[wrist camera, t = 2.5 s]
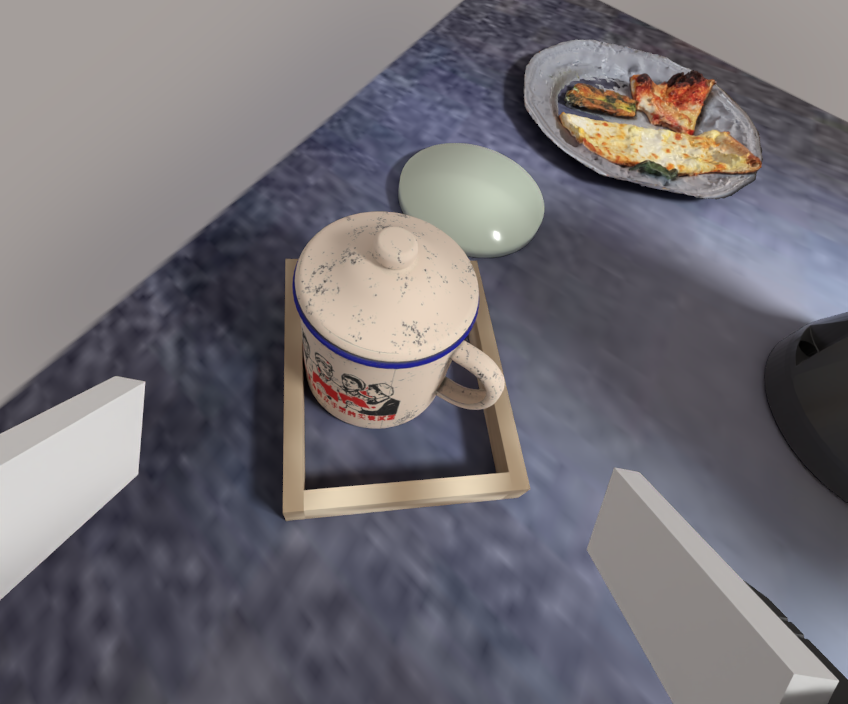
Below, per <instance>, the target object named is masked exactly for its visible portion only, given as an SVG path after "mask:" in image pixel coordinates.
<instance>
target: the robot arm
mask: <svg viewBox="0 0 848 704" xmlns="http://www.w3.org/2000/svg"><path fill="white" fill-rule="evenodd" d="M765 387H766V393H767V398H768V402H769V405H770V408H771V411H772V414H773V416H774V418H775V421H776V423H777V425H778V427H779V429H780V430H781V432H782V434H783V436H784V437H785V439H786V441H787V442H788V444H789V445H790V447H791V448H792V450H793V451H794V452H795V453H796V455H797V456H798V457H799V459H800V460H801V461H802V462H803V463H804V465H805V466H806V467H807V468H808V469H809V470H810V471H811V472H812V473H813V474H814V475H815V476H816V477H817V478H818V479H819V480H820V481H821V482H822V483H823V484H824V485H825V486H826V487H828V488H829V489H830V490H831V491H832V492H834V493H835V494H836V495H838V496H839V497H840V498H841V499H843V500H844V501H846V502H847V503H848V312H846V313H842V314H838V315H835V316H831V317H827V318H824V319H820V320H817V321H814V322H812V323H810V324H808V325H806V326H804V327H802V328H801V329H799V330H797V331H796V332H794V333H793V334H791V335H790V336H788V337H787V338H785V339H783V340H782V341H781V342H779V343H778V344H777V345H776V346H775V347H774V349H773V350H772V352H771V354H770V355H769V358H768V360H767V364H766V370H765ZM144 392H145V381H139V380H134V379H128V378H123V377H117V376H115V377H113V378H111V379H109V380H107V381H105V382H103V383H101V384H99V385H97V386H95V387H93V388H91V389H89V390H87V391H85V392H83V393H81V394H79V395H77V396H75V397H73V398H71V399H69V400H67V401H65V402H63V403H61V404H59V405H57V406H55V407H53V408H51V409H49V410H47V411H45V412H43V413H41V414H39V415H37V416H35V417H33V418H31V419H29V420H27V421H25V422H23V423H21V424H19V425H17V426H15V427H13V428H11V429H9V430H7V431H5V432H3V433H1V434H0V599H2V598H3V597H4V596H5V595H6V594H7V593H8V592H9V591H10V590H11V589H13V588H14V587H15V586H16V585H17V584H18V583H19V582H20V581H21V580H22V579H24V578H25V577H26V576H27V575H28V574H29V573H30V572H31V571H32V570H34V569H35V568H36V567H37V566H38V565H39V564H40V563H41V562H42V561H43V560H45V559H46V558H47V557H48V556H49V555H50V554H51V553H52V552H53V551H54V550H56V549H57V548H58V547H59V546H60V545H61V544H62V543H63V542H64V541H65V540H67V539H68V538H69V537H70V536H71V535H72V534H73V533H74V532H75V531H76V530H78V529H79V528H80V527H81V526H82V525H83V524H84V523H85V522H86V521H87V520H89V519H90V518H91V517H92V516H93V515H94V514H95V513H96V512H97V511H98V510H100V509H101V508H102V507H103V506H104V505H105V504H106V503H107V502H108V501H109V500H111V499H112V498H113V497H114V496H115V495H116V494H117V493H118V492H119V491H120V490H122V489H123V488H124V487H125V486H126V485H127V484H128V483H129V482H130V481H131V480H133V479H134V478H135V477H136V476H137V475H138V470H139V457H140V444H141V431H142V418H143V405H144ZM587 551H588V553H589V554H590V556H591V558H592V560H593V562H594V563H595V565H596V567H597V569H598V570H599V572H600V574H601V576H602V578H603V579H604V581H605V583H606V585H607V587H608V588H609V590H610V592H611V594H612V595H613V597H614V599H615V601H616V603H617V604H618V606H619V608H620V610H621V611H622V613H623V615H624V617H625V619H626V620H627V622H628V624H629V626H630V627H631V629H632V631H633V633H634V635H635V636H636V638H637V640H638V642H639V644H640V645H641V647H642V649H643V651H644V652H645V654H646V656H647V658H648V660H649V661H650V663H651V665H652V667H653V668H654V670H655V672H656V674H657V676H658V677H659V679H660V681H661V683H662V684H663V686H664V688H665V690H666V692H667V693H668V695H669V697H670V699H671V701H672V702H673V704H848V680H847V679H846V677H845V676H844V675H843V674H842V673H841V672H840V671H839V670H838V669H837V668H836V667H835V666H834V665H833V664H832V663H831V662H830V661H829V660H828V659H827V658H826V657H825V656H824V655H823V654H822V653H821V652H820V651H819V650H818V649H817V648H816V647H815V646H814V645H813V644H812V643H811V642H810V641H809V640H808V639H804V635H803V634H802V633H801V632H800V630H799V629H798V628H797V627H796V626H795V625H794V624H793V623H792V622H788V620H787V619H788V618H787V617H786V616H785V615H784V614H783V613H782V612H781V611H780V610H779V609H778V608H777V607H776V606H775V605H774V604H773V603H772V602H771V601H770V600H769V599H768V598H767V597H765V596H764V595H763V594H761V593H760V592H759V591H757V590H756V589H755V588H753V587H752V586H750V585H749V584H748V583H746V582H745V581H744V580H742V579H741V578H740V577H739V576H738V575H737V574H736V572H735V571H734V570H733V569H732V568H731V567H730V566H729V565H728V564H727V563H726V562H725V561H724V560H723V559H722V558H721V557H720V556H719V555H718V554H717V553H716V552H715V551H714V550H713V548H712V547H711V546H710V545H709V544H708V543H707V542H706V541H705V540H704V539H703V538H702V537H701V536H700V535H699V534H698V533H697V532H696V531H695V530H694V529H693V528H692V527H691V526H690V524H689V523H688V522H687V521H686V520H685V519H684V518H683V517H682V516H681V515H680V514H679V513H678V512H677V511H676V510H675V509H674V508H673V507H672V506H671V505H670V504H669V503H668V502H667V500H666V499H665V498H664V497H663V496H662V495H661V494H660V493H659V492H658V491H657V490H656V489H655V488H654V487H653V486H652V485H651V484H650V483H649V482H648V481H647V480H646V479H645V477H644V476H643V475H642V474H641V473H640V472H636V471H631V470H625V469H620V468H614V470H613V473H612V476H611V479H610V482H609V485H608V488H607V491H606V494H605V497H604V500H603V503H602V506H601V509H600V512H599V515H598V518H597V521H596V523H595V526H594V529H593V532H592V535H591V538H590V541H589V544H588V547H587Z"/></svg>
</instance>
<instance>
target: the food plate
mask: <svg viewBox="0 0 848 704" xmlns="http://www.w3.org/2000/svg"><path fill="white" fill-rule="evenodd" d="M525 68H526V71H525V75H524V80H525V81H524V94H525V96H524V101H525V107H526V109H527V111H528V112H529V114H531V115H530V116H531V117H532V118H533V120H535V121H536V124H538V126H540V128H541V130H542V131H544V133H545V134H546V136H547V137H548V138H550V140H552V141H553V142H554V143H555V144H557V146H558V147H559V148H561V149H563V150H564V151H565V152H566V153H567V154H569V155H570V156H572V157H573V158H575V159H577V160H578V161H579V162H581V163H582V164H584V165H585V166H587V167H589V168H591V169H592V170H594V171H596V172H597V173H599V174H600V175H603V176H608V177H614V178H616V179H618V180H620V179H621V180H626V181H629V182H632V183H633V182H634V183H635V184H636V183H637V184H640V185H641V186H647V187H651V188H655V189H659V190H667V191H668V190H669V192H674V193H680V194H683V193H684V194H686V195H688V196H689V195H692V196H695V197H696V198H697V197H698V196H699V197H698V198H702V199H703V198H704V199H705V198H708V199H709V198H710V199H714V198H715V199H720V198H725V197H728V196H732V194H734V193H736V192H738V191H739V190H740V189H741V188H743V187H744V186H746V185H748V184H750V183H752V182H753V181H755V179H756V173H757V171H758V170H759V169H760V168H761V164H762V160H763V158H762V148H761V147H760V146H761V145H760V137H759V132H758V131H757V129H756V128H755V126H754V124H753V122H752V121H751V119H750V117H749V116H748V115H747V113H746V112H745V111H744V110H743V109H742V108H741V107H740V106H739V105H738V104H737V103H736V102H735V101H734V100H733V99H732V98H731V97H730V96H729V95H728V94H727V93H726V92H725V91H724V90H723V89H721V88H720V87H719V86H718V85H717V84H716V82H715V80H713V79H711V80H708V79H705V78H704V77H703V75H702V74H701V73H698V72H697V71H694V70H691V69H688V68H684V67H682V66H680V65H678V64H676V63H675V62H672V61H670V59H668V58H666V57H663V56H658V55H655V54H654V55H652V53H647V52H643V51H640V50H634V49H632V48H629V47H623V48H622V46H617V45H614V44H609V43H606V42H605V43H601V42H600V41H598V42H597V41H596V40H591V39H590V40H571V41H568V42H561V43H559V44H557V45H555V46H552V47H550V48H547V49H544V50H542V51H540V52H539V53H536V55H534V56H533V58H532V59H531V60H530V62H529V64H528V65H527V66H526V67H525ZM592 77H598V78H604V79H607V77H610V79H607V82H610V81H608V80H612V79H611V78H614V79H616V80H612V81H614V82H616V83H617V84H618V85H619V86H620V88H619V91H617V89H618V88H617V87H613V88H614V89H615V91H614V90H612V89H605V88H604V87H603V89H596V88H595V87H593V86H590V85H587V84H583V83H578V84H576V85H575V84H574V85H575V86H574V87H573V88H572V89H571V90H570V91H567V93H566V95H565V99H564V101H566V103H565V105H566V106H567V107H569V108H572V109H576V110H578V111H581V112H585V113H589V114H592V115H594V116H595V115H597V116H599V117H600V116H601V117H602V118H604V120H607V121H609V122H606V121H600V120H598V121H597V120H592V119H589V118H586V117H580V116H576V115H571V114H565V113H564V112H562V113H561V115H559V114H558V94H559V93H560V91H561V88H562V89H563V88H564V85H568V84H569V85H570V82H571V81H576V80H578V81H579V79H583V78H584V79H585V80H595V79H594V78H592ZM598 78H597V79H598ZM617 78H618V79H619V80H618V79H617ZM598 80H599V79H598ZM599 81H601V80H599ZM619 81H624V82H619ZM714 82H715V83H714ZM619 83H621V84H619ZM624 84H626V85H627V86H628V87H626V86H625V87H624V88H623V87H622V86H623V85H624ZM596 85H597V84H596ZM598 86H599V88H601V85H598ZM604 90H605V91H604ZM609 118H610V119H609ZM612 119H613V120H612ZM661 129H662V130H661Z"/></svg>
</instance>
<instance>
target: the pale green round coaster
mask: <svg viewBox="0 0 848 704" xmlns="http://www.w3.org/2000/svg"><path fill="white" fill-rule="evenodd" d="M398 199H399V203H400V207H401V209H402V212H403V214H405V215H409V216H412V217H415V218H418V219H421V220H423V221H425V222H428V223H430V224H432V225H433V226H435V227H437V228H439V229H440V230H442V231H443V232H444V233H446V234H447V235H448V236H450V237H451V238H452V239H453V240H454V241H455V242H456V243H457V244H458V245H459V246H460V247H461V249H462V250H463V251H464V252H465V254H466V255H467V256H469V257H477V258H494V257H500V256H505V255H508V254H511V253H514V252H516V251H518V250H520V249H521V248H523V247H525V246H526V245H527V244H528V243H529V242H530V241H531V240H532V239H533V237H534V236H535V234H536V232H537V230H538V228H539V226H540V224H541V222H542V220H543V216H544V201H543V197H542V194H541V192H540V189H539V187H538V186H537V184H536V182H535V181H534V180H533V179H532V177H531V176H530V175H529V174H528V173H527V172H526V171H525V170H524V169H523V168H522V167H521V166H519V165H518V164H517V163H515V162H514V161H512V160H511V159H509V158H508V157H506V156H504V155H502V154H500V153H498V152H496V151H493V150H490V149H488V148H484V147H481V146H476V145H471V144H463V143H447V144H440V145H435V146H431V147H428V148H426V149H424V150H421V151H420V152H418V153H416V154H415V155H414V156H413V157H411V158H410V159H409V161H408V162H407V163H406V164H405V166H404V168H403V170H402V173H401V176H400V182H399V189H398Z"/></svg>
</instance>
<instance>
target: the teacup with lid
mask: <svg viewBox="0 0 848 704" xmlns="http://www.w3.org/2000/svg"><path fill="white" fill-rule="evenodd" d="M292 288H293V297H294V302H295V305H296V309H297V311H298V313H299V316H300V319H301V330H302V341H303V352H304V363H305V373H306V378H307V381H308V384H309V387H310V389H311V391H312V393H313V395H314V396H315V398H316V399H317V401H318V402H319V403H320V404H321V405H322V406H323V407H324V408H325V409H326V410H327V411H328V412H329V413H331V414H332V415H333V416H335V417H337V418H338V419H340V420H342V421H344V422H346V423H349V424H352V425H355V426H359V427H364V428H388V427H393V426H397V425H400V424H403V423H406V422H408V421H410V420H412V419H413V418H415V417H416V416H418V415H419V414H421V413H422V412H423V411H424V410H425V409H426V408H427V407H428V406H429V405H430V403H431V402H432V401H433V399H434V398H435V396H436V395H437V396H439V397H440V398H442V399H444V400H445V401H447V402H449V403H451V404H453V405H456V406H458V407H461V408H465V409H471V410H479V409H485V408H488V407H490V406H491V405H493V404H494V403H495V402H496V401H497V400H498V399H499V397H500V396H501V394H502V392H503V390H504V386H505V381H504V377H503V374H502V372H501V370H500V369H499V367H498V366H497V365H496V363H495V362H494V361H493V360H492V359H491V358H490V357H489V356H488V355H486V354H485V353H484V352H482V351H481V350H479V349H478V348H476V347H474V346H473V345H471V344H470V343H468V342H466V341H465V340H464V339H465V338H466V337H467V335H468V334H469V332H470V331H471V329H472V327H473V325H474V323H475V320H476V317H477V314H478V309H479V287H478V281H477V277H476V274H475V271H474V269H473V266H472V264H471V262H470V260H469V259H468V257H467V255H466V254H465V252H464V251H463V250H462V249H461V247H460V246H459V245H458V244H457V243H456V242H455V241H454V240H453V239H452V238H451V237H450V236H448V235H447V234H446V233H444V232H443V231H442V230H440V229H439V228H437V227H435V226H433V225H432V224H430V223H428V222H425V221H423V220H421V219H418V218H415V217H412V216H409V215H405V214H400V213H394V212H365V213H359V214H354V215H350V216H347V217H344V218H342V219H339V220H337V221H335V222H333V223H331V224H329V225H328V226H326V227H325V228H323V229H322V230H321V231H320V232H318V233H317V234H316V235H315V236H314V237H313V238H312V239H311V240H310V241H309V243H308V244H307V245H306V247H305V248H304V250H303V251H302V253H301V255H300V257H299V259H298V261H297V264H296V267H295V270H294V275H293V283H292ZM452 360H453V361H454V362H456V363H457V364H459V365H461V366H462V367H464V368H465V369H467V370H468V371H470V372H471V373H472V374H474V375H475V376H476V377H477V378H478V379H479V380H480V381H481V383H482V384H483V386H484V387H485V389H470V388H467V387H464V386H462V385H460V384H458V383H456V382H454V381H452V380H451V379H449V378H447V377H446V376H445V375H446V373H447V370H448V368H449V366H450V364H451V362H452Z"/></svg>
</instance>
